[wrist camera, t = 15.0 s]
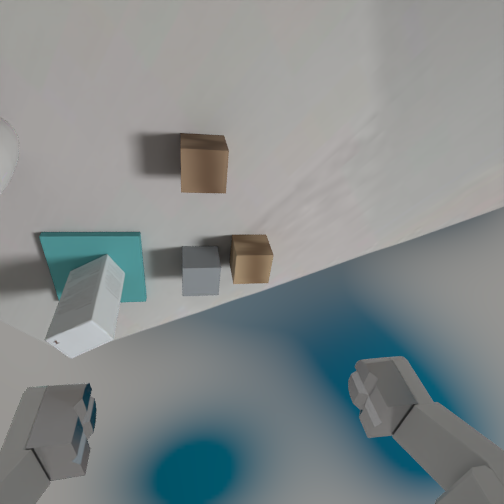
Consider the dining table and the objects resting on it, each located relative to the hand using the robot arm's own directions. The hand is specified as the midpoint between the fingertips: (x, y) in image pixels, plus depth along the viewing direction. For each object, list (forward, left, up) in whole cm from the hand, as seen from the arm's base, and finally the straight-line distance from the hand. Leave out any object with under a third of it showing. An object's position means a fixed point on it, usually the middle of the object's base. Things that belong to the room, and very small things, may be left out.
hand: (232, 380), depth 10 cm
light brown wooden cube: (+8, -20, -34) cm, 40 cm away
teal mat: (-13, -23, -34) cm, 43 cm away
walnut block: (+1, -6, -34) cm, 35 cm away
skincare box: (-13, -23, -33) cm, 42 cm away
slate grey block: (+1, -22, -34) cm, 41 cm away
